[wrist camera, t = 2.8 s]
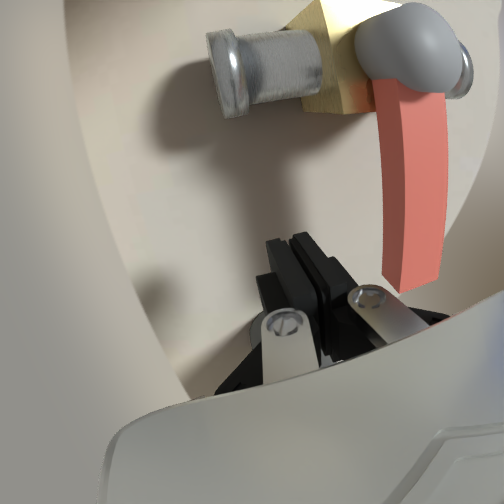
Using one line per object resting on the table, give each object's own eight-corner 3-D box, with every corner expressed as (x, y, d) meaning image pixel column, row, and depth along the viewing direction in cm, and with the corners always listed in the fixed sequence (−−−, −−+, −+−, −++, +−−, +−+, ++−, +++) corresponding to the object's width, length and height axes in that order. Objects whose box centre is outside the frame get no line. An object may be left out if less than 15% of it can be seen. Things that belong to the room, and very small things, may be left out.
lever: (346, 12, 9) (380, -5, 7) (413, 20, 9) (452, 12, 7) (372, 277, 16) (399, 308, 13) (426, 259, 16) (454, 285, 13)
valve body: (204, 37, 14) (203, 6, 9) (420, 32, 15) (475, 24, 9) (224, 125, 17) (232, 132, 12) (432, 103, 18) (488, 111, 12)
